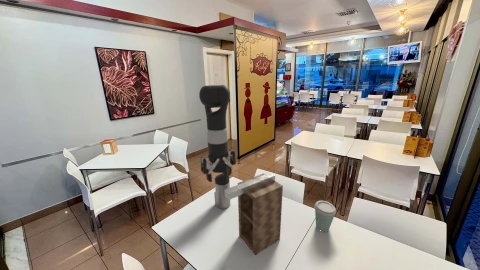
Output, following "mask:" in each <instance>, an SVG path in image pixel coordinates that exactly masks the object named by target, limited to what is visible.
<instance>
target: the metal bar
mask: <svg viewBox="0 0 480 270" xmlns="http://www.w3.org/2000/svg"><path fill="white" fill-rule="evenodd" d="M264 174H265V173H264ZM273 181H276V175H275V174H274V173H272V172H268V173H266V174H265V175H262V176H260V177H257V178H254V179H252V180H249V181H247V182H244V183H241V184H239V185H238V184H237V185H233V186H231V187H230V188H228V189H225V197H226V198H227V199H228V200H230V201H231V200H232V199H234V198H238V196H240V195H242V194H245V193H247V192H249V191H252V190H254V189H257V188H259V187H261V186H264V185H266V184H269V183H271V182H273Z"/></svg>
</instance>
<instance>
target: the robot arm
mask: <svg viewBox="0 0 480 270" xmlns="http://www.w3.org/2000/svg"><path fill="white" fill-rule="evenodd" d="M198 97H199V101H200V103H201V104H202V105H203V106H204V109H205V110H204V111H205V115H206V128H207V132H206V140H207V141H206V142H207V151H208V152H207V153H208V156H206V157H203V156H201V157H200V171H201V173H203V174H204V175H206V180H207V181H208V182H209V183H212V182H213V177H212V176H213V175H212V173H214V174H215V173H216V174H218V175H216V176H215V177H214V187H215V191H214V206H216V207H217V208H218V209H221V210H225V209H228V208H230V206H231V199H230V200H228V199H227V198H226V197H225V189H228V188H231V187H230V185H231V184H230V176H231V175H232V173H233V171H232V169H233V166H235V165H236V163H237V162H236V161H237V160H236V159H237V158H236V152H235V151H234V150H233V149H229V144H228V143H229V142H228V130H227V110H228V107H229V106H228V105H229V103H230V99H231V91H230V89H229V87H228V86H227V85H225V84H221V85H220V84H218V85H215V84H214V85H212V84H211V85H204V86H202V87H201V88H200V90H199V95H198ZM213 108H214V109H216V108H219V109H216V110H214V111H213V110H212V109H213ZM228 157H229V158H228ZM208 161H209V162H208Z"/></svg>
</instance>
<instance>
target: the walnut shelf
mask: <svg viewBox="0 0 480 270" xmlns="http://www.w3.org/2000/svg"><path fill="white" fill-rule="evenodd" d="M262 175H265V173H261V174H258V175H256V176H253V177H250V178H248V179H245V180H243V181H240V182H237V185H239V184H241V183H244V182H247V181H249V180H252V179H254V178H257V177H260V176H262ZM283 188H284V185H283V184H281V183H280V182H278V181H276V180H275V181H273V182H271V183H269V184H266V185H264V186H261V187H259V188H257V189H254V190H252V191H249V192H247V193H245V194H242V195H240V196H237V203H238V205H237V207H238V236H239V238H240V239H241V240H242V241H243V243H244V244H245V245H246V246H247V247H248V249H249V250H250V251H251V252H252V254H254V256H256V255H258V254H259V253H261V252H263V251H264V250H266V249H268V248H269V247H270V246H272V245H274V244H275V243H277V242H279V241H280V240H281V228H282V227H281V226H282V225H281V224H282V207H283V190H284V189H283Z"/></svg>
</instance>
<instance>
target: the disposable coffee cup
mask: <svg viewBox="0 0 480 270" xmlns="http://www.w3.org/2000/svg"><path fill="white" fill-rule="evenodd" d="M336 214H337V209H336V207H335V206H334V205H333V204H332V203H330V202H329V201H327V200H318V201H316V202H315V203H314V215H315V227H316V229H317V228H318V229H319V230H321V231H327V232H328V231H329V230H330V227H331V226H332V223H333V220H334V218H335V216H336ZM318 229H317V230H318ZM319 230H318V231H319ZM321 231H320V232H321Z"/></svg>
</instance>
